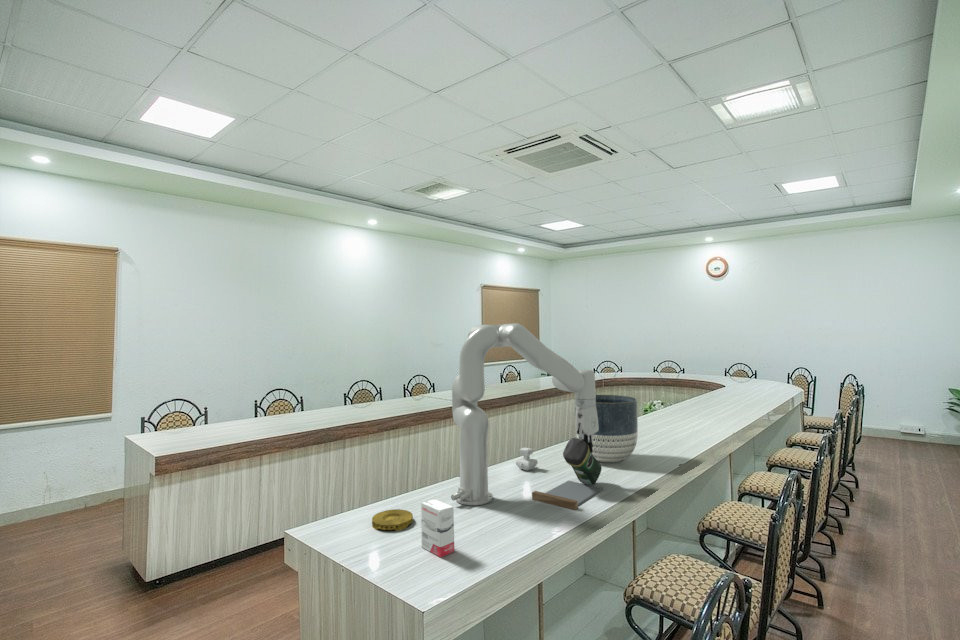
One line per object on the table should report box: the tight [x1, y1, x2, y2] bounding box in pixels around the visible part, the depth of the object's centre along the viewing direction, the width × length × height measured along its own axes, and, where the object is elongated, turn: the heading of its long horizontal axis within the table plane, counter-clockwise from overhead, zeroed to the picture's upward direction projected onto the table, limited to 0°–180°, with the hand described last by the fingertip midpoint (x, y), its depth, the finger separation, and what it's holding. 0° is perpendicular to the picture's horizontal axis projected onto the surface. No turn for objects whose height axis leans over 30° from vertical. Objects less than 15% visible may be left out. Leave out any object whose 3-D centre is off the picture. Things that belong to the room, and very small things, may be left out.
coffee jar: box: [562, 437, 602, 486], centre depth 168 cm, size 10×8×19 cm
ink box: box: [420, 498, 455, 558], centre depth 122 cm, size 8×5×12 cm, turn 43°
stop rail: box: [531, 490, 579, 511], centre depth 153 cm, size 2×16×2 cm, turn 51°
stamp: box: [515, 447, 538, 472], centre depth 192 cm, size 9×7×8 cm
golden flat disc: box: [371, 508, 414, 532], centre depth 139 cm, size 12×12×2 cm
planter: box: [574, 394, 639, 463], centre depth 204 cm, size 27×27×27 cm
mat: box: [545, 480, 604, 506], centre depth 162 cm, size 21×14×1 cm, turn 141°
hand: (587, 452), depth 172 cm, fingers closed
